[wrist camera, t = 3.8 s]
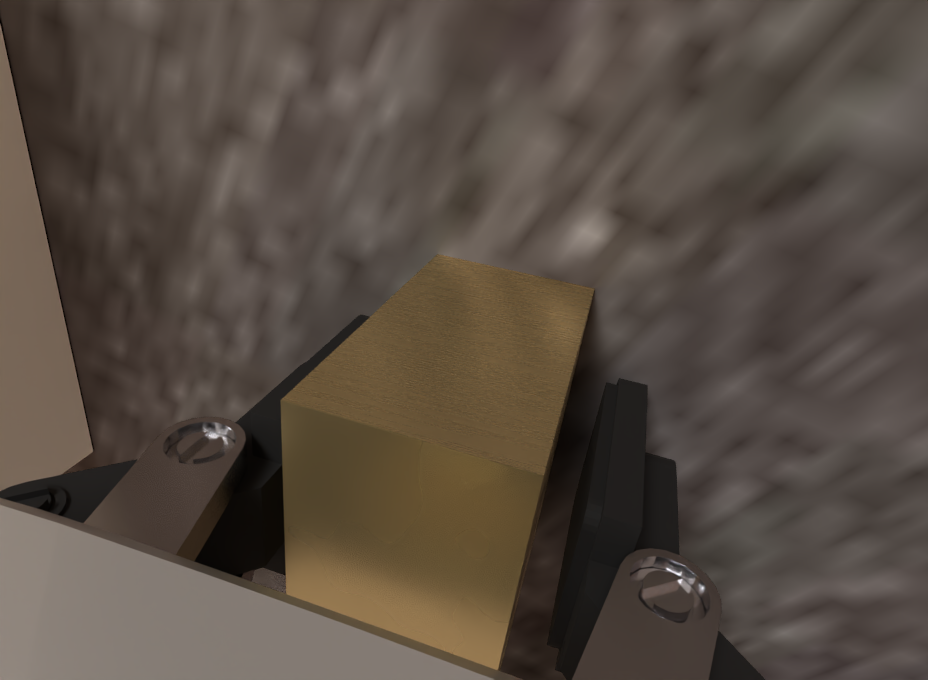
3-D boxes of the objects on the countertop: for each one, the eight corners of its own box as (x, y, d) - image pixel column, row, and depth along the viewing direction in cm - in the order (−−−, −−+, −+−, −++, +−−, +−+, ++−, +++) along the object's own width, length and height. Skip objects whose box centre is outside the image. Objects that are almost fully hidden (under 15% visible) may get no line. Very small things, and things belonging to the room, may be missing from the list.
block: (536, 528, 14) (470, 786, 9) (413, 491, 14) (289, 713, 9) (595, 287, 11) (543, 475, 6) (438, 253, 11) (280, 400, 7)
